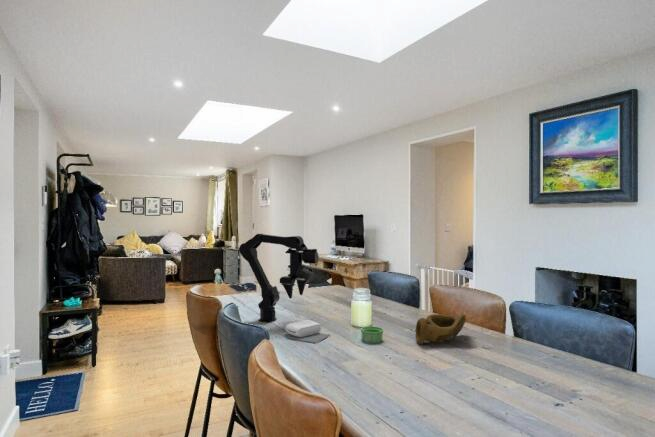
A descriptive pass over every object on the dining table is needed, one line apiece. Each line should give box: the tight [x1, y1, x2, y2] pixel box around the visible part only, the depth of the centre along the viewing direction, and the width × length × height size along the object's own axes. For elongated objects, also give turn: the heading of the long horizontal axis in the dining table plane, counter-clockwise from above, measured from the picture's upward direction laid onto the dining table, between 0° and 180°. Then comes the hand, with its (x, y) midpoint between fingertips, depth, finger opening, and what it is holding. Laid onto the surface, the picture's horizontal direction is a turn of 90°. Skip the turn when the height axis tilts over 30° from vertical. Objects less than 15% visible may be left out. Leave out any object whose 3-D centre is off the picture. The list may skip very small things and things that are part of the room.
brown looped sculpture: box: [415, 313, 467, 345], centre depth 157 cm, size 18×13×22 cm
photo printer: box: [284, 319, 322, 337], centre depth 165 cm, size 10×4×12 cm
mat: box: [285, 332, 331, 344], centre depth 161 cm, size 14×12×1 cm
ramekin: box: [360, 325, 384, 344], centre depth 158 cm, size 9×9×4 cm
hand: (295, 296), depth 184 cm, fingers open, 9 cm apart
